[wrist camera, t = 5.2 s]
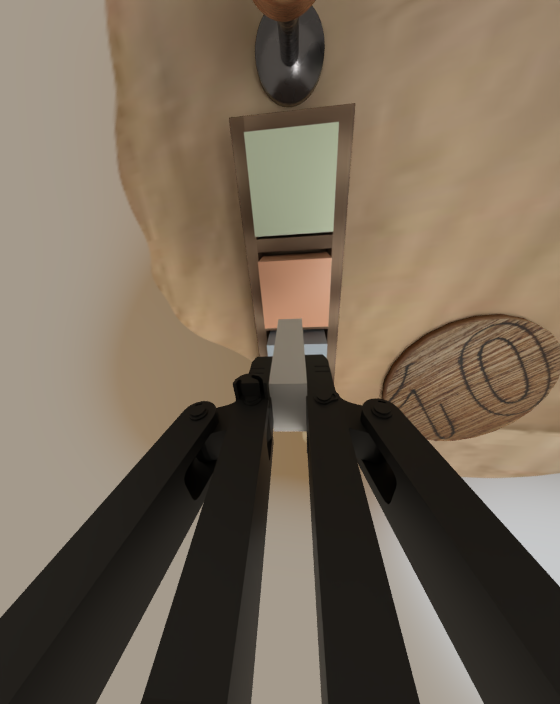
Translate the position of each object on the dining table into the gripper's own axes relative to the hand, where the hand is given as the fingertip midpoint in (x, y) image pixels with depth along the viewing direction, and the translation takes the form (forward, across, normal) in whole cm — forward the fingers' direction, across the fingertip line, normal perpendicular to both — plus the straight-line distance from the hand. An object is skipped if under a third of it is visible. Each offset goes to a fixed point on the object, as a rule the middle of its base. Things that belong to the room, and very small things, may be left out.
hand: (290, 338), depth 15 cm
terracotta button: (+13, 0, 0) cm, 13 cm away
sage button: (+13, 0, +9) cm, 16 cm away
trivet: (+18, +28, -19) cm, 38 cm away
